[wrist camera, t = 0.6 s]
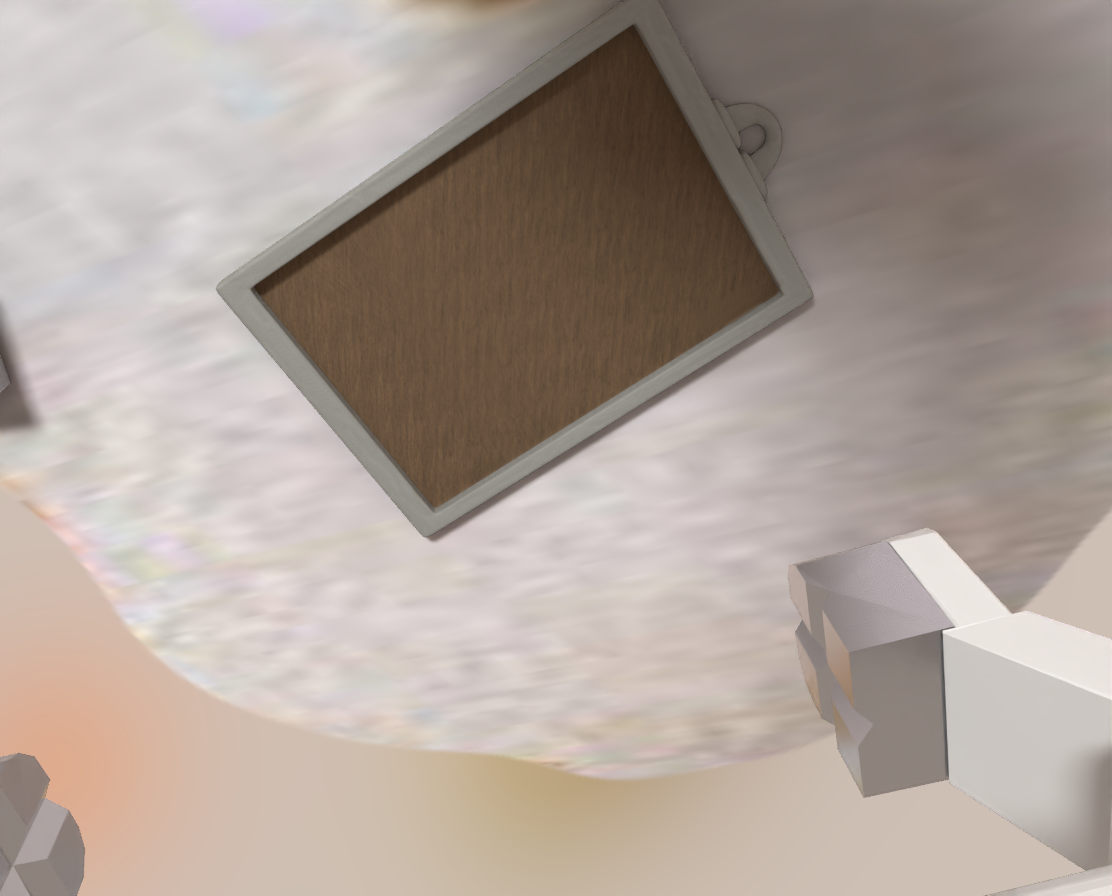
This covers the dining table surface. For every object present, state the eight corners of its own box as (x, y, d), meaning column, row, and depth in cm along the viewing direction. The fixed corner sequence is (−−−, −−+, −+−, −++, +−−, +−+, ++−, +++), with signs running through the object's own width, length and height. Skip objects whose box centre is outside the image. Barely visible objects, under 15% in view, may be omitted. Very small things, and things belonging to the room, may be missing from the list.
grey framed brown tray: (212, 289, 52) (697, -49, 48) (218, 280, 53) (689, -48, 49) (424, 541, 60) (857, 271, 55) (424, 527, 61) (846, 264, 57)
